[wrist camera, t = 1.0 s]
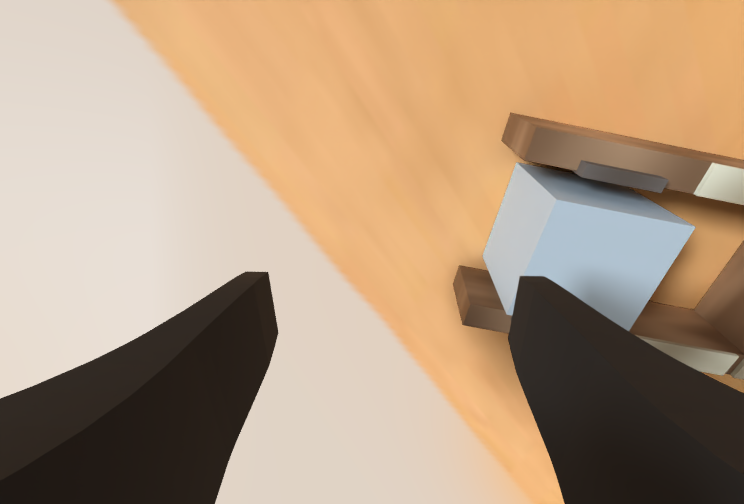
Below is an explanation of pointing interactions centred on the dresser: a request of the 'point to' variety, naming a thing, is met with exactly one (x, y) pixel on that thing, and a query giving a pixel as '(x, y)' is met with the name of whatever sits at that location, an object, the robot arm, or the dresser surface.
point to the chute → (648, 172)
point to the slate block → (582, 241)
